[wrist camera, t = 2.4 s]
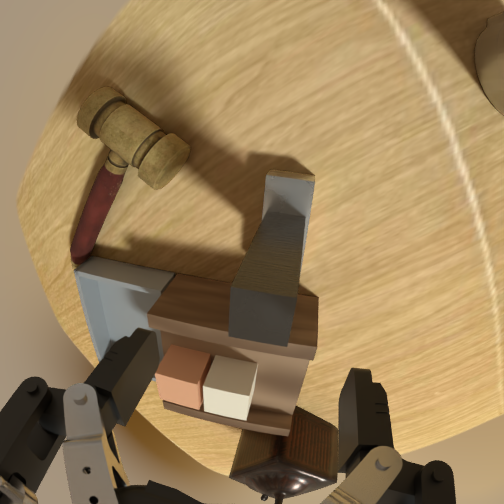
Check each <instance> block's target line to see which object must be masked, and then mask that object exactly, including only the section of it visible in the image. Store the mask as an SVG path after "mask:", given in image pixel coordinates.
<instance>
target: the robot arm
mask: <svg viewBox="0 0 504 504" xmlns="http://www.w3.org/2000/svg"><path fill="white" fill-rule="evenodd" d="M487 22H488V25H487V28H486V29H485V30H484V31H483V32H482V33H481V34H480V36H479V38H478V40H477V43H476V47H475V65H476V71H477V74H478V78H479V81H480V83H481V86H482V88H483V90H484V92H485V94H486V95H487V97H488V99H489V100H490V102H491V103H492V104H493V105H494V107H495V108H496V109H497V110H498V111H499V112H500V113H501V114H502V115H504V12H502V13H500V14H497V15H495V16H493V17H490V18H488V19H487ZM159 361H160V356H159V350H158V343H157V336H156V333H155V332H154V331H150V330H147V329H143V328H139V327H138V328H136V329H135V331H134V332H133V333H132V335H131V336H130V337H127V336H124V337H122V338H121V339H119V340H118V341H116V342H115V343H114V344H113V346H112V347H111V348H110V349H109V352H107V353H106V355H105V356H104V359H102V360H101V361H100V362H99V364H98V365H97V366H96V368H95V369H94V371H93V372H92V373H91V375H90V376H89V377H88V378H87V380H86V381H85V382H84V383H78V384H74V385H72V386H70V387H69V388H68V389H67V390H65V389H57V388H50V387H48V385H47V383H46V382H45V380H43V379H42V378H40V377H30V378H28V379H26V380H25V381H23V382H22V384H21V385H20V386H19V387H18V389H17V390H16V391H15V392H14V394H13V395H12V397H11V398H10V399H9V401H8V402H7V403H6V405H5V406H4V407H3V409H2V410H1V412H0V504H38V500H37V497H36V495H35V493H36V491H37V489H38V487H39V485H40V483H41V481H42V480H43V478H44V476H45V474H46V472H47V470H48V468H49V466H50V464H51V463H52V461H53V459H54V457H55V455H56V453H57V452H58V450H59V448H60V446H61V444H62V443H63V454H64V461H65V467H66V473H67V479H68V484H69V490H70V495H71V499H72V503H73V504H204V503H201V502H199V501H197V500H195V499H193V498H192V497H190V496H188V495H186V494H184V493H182V492H181V491H179V490H177V489H174V488H171V487H168V486H165V485H162V484H159V483H156V482H153V481H151V480H149V481H148V484H147V485H130V483H129V480H128V477H127V475H126V473H125V471H124V468H123V465H122V462H121V458H120V454H119V451H118V447H117V443H116V439H115V435H114V431H113V428H114V427H115V425H116V423H117V424H120V425H122V426H126V424H127V422H128V421H129V419H130V417H131V415H132V413H133V412H134V410H135V408H136V406H137V405H138V403H139V401H140V399H141V397H142V396H143V394H144V392H145V390H146V389H147V387H148V385H149V383H150V382H151V380H152V378H153V376H154V375H155V373H156V371H157V369H158V366H159ZM66 436H67V440H66V441H64V439H65V437H66ZM338 473H346V479H345V480H344V481H343V482H342V483H341V484H340V485H339V486H338V487H337V488H336V490H334V491H333V492H332V493H331V494H330V495H329V496H328V497H327V498H326V499H325V500H324V501H323V502H322V503H320V504H456V497H455V486H454V476H453V471H452V469H451V467H450V466H449V465H447V463H445V462H443V461H439V460H438V461H437V460H435V461H431V462H429V463H428V464H426V465H425V466H423V465H419V464H415V463H411V462H408V461H406V460H404V459H402V458H401V455H400V454H399V453H398V452H397V451H396V450H395V449H394V445H393V438H392V429H391V421H390V414H389V407H388V400H387V394H386V392H385V390H384V388H383V387H382V385H381V384H380V383H373V382H372V375H371V371H370V369H360V368H351V370H350V372H349V374H348V377H347V379H346V381H345V384H344V386H343V388H342V391H341V394H340V398H339V435H338Z"/></svg>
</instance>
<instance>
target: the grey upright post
mask: <svg viewBox="0 0 504 504" xmlns="http://www.w3.org/2000/svg"><path fill="white" fill-rule="evenodd" d="M314 185H315V175H310V174H303V173H296V172H289V171H282V170H274V169H270V171H269V172H268V173H267V175H266V182H265V193H264V203H263V213H262V222H261V224H260V226H259V228H258V230H257V232H256V234H255V237H254V239H253V241H252V243H251V245H250V247H249V249H248V251H247V253H246V255H245V257H244V260H243V262H242V264H241V266H240V268H239V270H238V272H237V274H236V276H235V278H234V281H233V283H232V285H231V289H230V308H229V329H228V336H229V337H234V338H239V339H244V340H249V341H255V342H260V343H266V344H272V345H278V346H284V347H287V346H288V341H289V337H290V332H291V327H292V322H293V317H294V312H295V307H296V302H297V296H298V287H299V278H300V272H301V267H302V261H303V255H304V249H305V243H306V237H307V231H308V225H309V218H310V212H311V205H312V199H313V192H314Z"/></svg>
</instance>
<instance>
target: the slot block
mask: <svg viewBox="0 0 504 504" xmlns="http://www.w3.org/2000/svg"><path fill="white" fill-rule="evenodd" d="M231 285H232V283H228V282H222V281H217V280H211V279H206V278H200V277H195V276H190V275H184V274H179V273H178V274H177V275H176V276H175V278H174V279H173V280H172V282H171V283H170V284H169V285H168V287H167V288H166V289H165V290H164V292H163V293H162V294H161V296H160V297H159V298H158V300H157V301H156V302H155V303H154V305H153V306H152V307H151V309H150V310H149V311H148V313H147V318H148V325H149V327H150V328H154V329H158V330H160V332H161V340H162V347H163V354H164V356H165V354H166V352H167V350H168V349H169V347H170V345H171V344H172V345H176V346H180V347H184V348H188V349H192V350H196V351H201V352H205V353H209V354H211V365H212V363H213V360H214V358H215V355H218V356H223V357H228V358H232V359H237V360H242V361H248V362H253V363H258V366H257V374H256V381H255V388H254V392H253V396H252V400H251V404H250V408H249V412H248V416H247V420H246V421H245V420H240V419H236V418H231V417H226V416H222V415H218V414H213V413H209V412H205V411H204V399H203V402H202V404H201V407H200V409H199V410H198V409H194V408H190V407H186V406H183V405H179V404H176V403H172V402H169V401H166V400H163V405H164V409H167V410H171V411H174V412H177V413H181V414H184V415H188V416H192V417H195V418H199V419H203V420H207V421H211V422H215V423H219V424H224V425H228V426H233V427H237V428H242V429H247V430H252V431H258V432H263V433H269V434H275V435H282V436H288V435H289V432H290V429H291V422H292V415H293V412H294V409H295V406H296V403H297V400H298V397H299V393H300V390H301V387H302V384H303V381H304V377H305V374H306V371H307V367H308V364H309V360H314V356H315V353H316V350H317V339H318V299H319V297H313V296H306V295H300V294H298V296H297V302H296V307H295V312H294V317H293V322H292V327H291V332H290V337H289V341H288V346H287V347H284V346H278V345H272V344H266V343H260V342H255V341H249V340H244V339H239V338H234V337H229V336H228V329H229V308H230V289H231Z"/></svg>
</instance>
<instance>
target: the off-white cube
mask: <svg viewBox="0 0 504 504" xmlns="http://www.w3.org/2000/svg"><path fill="white" fill-rule="evenodd" d="M257 366H258V363H253V362H248V361H242V360H237V359H232V358H228V357H223V356H218V355H215V358H214V360H213V363H212V365H211V368H210V370H209V372H208V375H207V377H206V380H205V382H204V385H203V397H204V411H205V412H209V413H213V414H218V415H222V416H226V417H231V418H236V419H240V420H245V421H246V420H247V416H248V412H249V408H250V404H251V400H252V396H253V392H254V388H255V381H256V374H257Z"/></svg>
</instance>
